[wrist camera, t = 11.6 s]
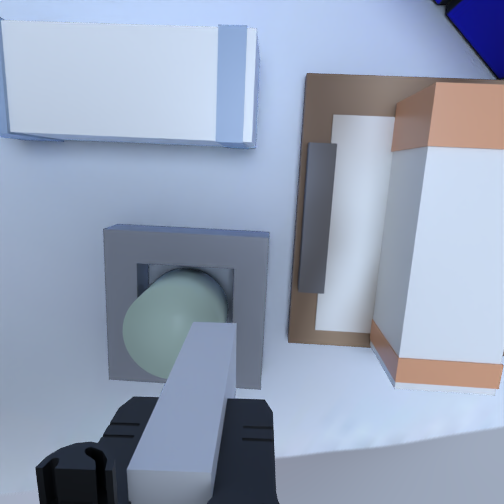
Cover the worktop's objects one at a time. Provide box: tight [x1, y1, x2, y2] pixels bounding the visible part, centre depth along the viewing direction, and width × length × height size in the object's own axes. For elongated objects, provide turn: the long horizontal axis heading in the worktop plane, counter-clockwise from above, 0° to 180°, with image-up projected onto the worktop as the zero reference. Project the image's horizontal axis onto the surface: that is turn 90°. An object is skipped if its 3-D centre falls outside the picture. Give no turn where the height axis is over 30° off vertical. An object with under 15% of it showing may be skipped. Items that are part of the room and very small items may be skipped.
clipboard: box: [288, 73, 504, 356], centre depth 21 cm, size 14×15×2 cm
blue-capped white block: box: [0, 17, 260, 149], centre depth 19 cm, size 13×5×5 cm, turn 87°
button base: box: [103, 224, 269, 390], centre depth 22 cm, size 9×9×2 cm
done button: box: [123, 268, 228, 379], centre depth 20 cm, size 5×5×4 cm
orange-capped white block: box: [370, 82, 504, 396], centre depth 19 cm, size 13×5×5 cm, turn 177°
